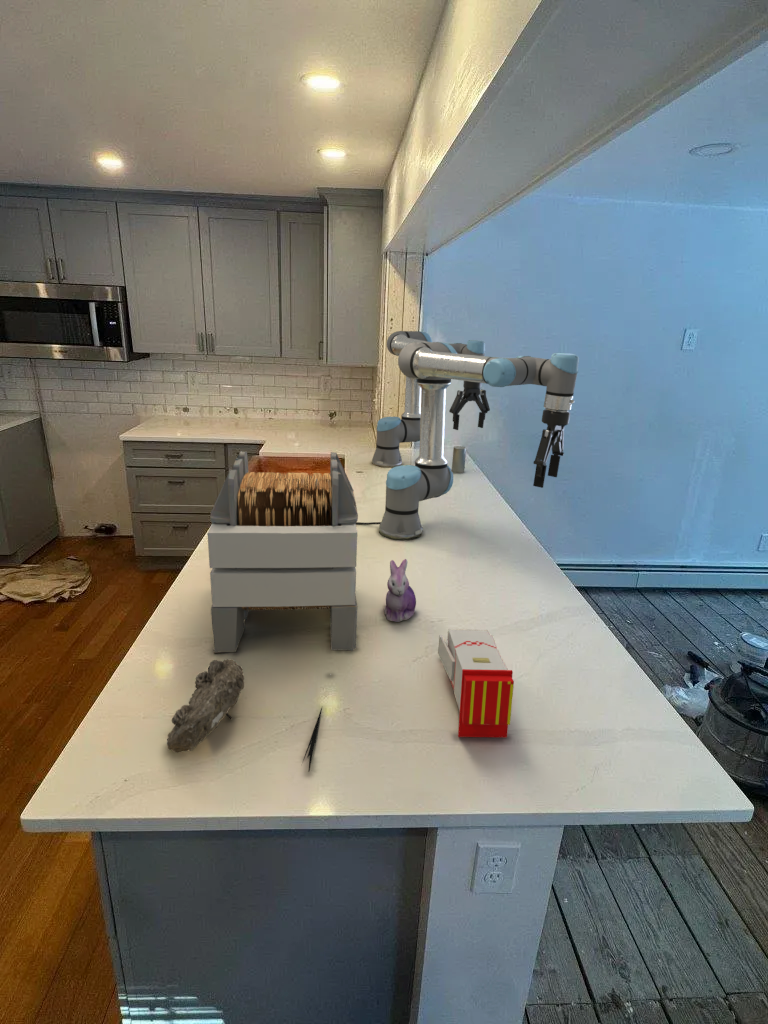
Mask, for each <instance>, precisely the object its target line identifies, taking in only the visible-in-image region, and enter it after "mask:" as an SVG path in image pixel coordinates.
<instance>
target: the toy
mask: <svg viewBox="0 0 768 1024" xmlns="http://www.w3.org/2000/svg"><path fill="white" fill-rule="evenodd" d="M446 640H447V643H446V641H445V639H444V636H443V635H442V634H439V637H438V646H437V656H438V657H439V659H440V661H441V663H442V666H443V668H444V670H445V672H446V674H447V677H448V679H449V681H450V684H451V687H452V690H453V693H454V697H455V701H456V705H457V708H458V711H459V714H458V715H459V716H458V730H457V731H458V732H457V737H458V738H508V731H509V726H510V725H511V717H512V707H513V697H514V696H513V695H514V684H515V680H514V679H513V673H514V671H513V670H512V669H508V667H507V665H506V662H505V661H504V659H503V658H502V655H501V653H500V651H499V649H498V647H497V643H496V639H495V637H494V635H493V634H491V632H490V631H489V629H467V628H466V629H465V628H463V629H461V628H460V629H459V628H448V630H447V639H446Z"/></svg>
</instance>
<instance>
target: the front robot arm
mask: <svg viewBox="0 0 768 1024" xmlns="http://www.w3.org/2000/svg"><path fill="white" fill-rule="evenodd" d="M450 344H451V343H447V342H441V341H432V342H421V343H420V342H415V343H411V344H408V345H407V346H405V347H404V348H403V349H402V350H401V352H400V354H399V356H397V357H398V358H397V365H398V368H399V370H400V372H401V373H402V374H403V375H404V376H405V377H406V376H407V377H409V378H413V379H417V384H418V385H419V386H420V387H421V417H420V441H419V456H418V457H417V458H416V459H415V460H414V465H413V464H405V465H403V464H402V465H400V466H396V467H391V468H390V469H389V470H388V472H387V474H386V479H385V504H384V505H385V507H384V508H385V509H384V513H383V515H382V519H381V521H379V522H378V521H377V522H376V521H374V522H373V521H371V522H362V521H361V522H359V521H357V522H356V525H359V526H360V525H365V526H370V525H372V526H373V525H378V533H379V534H380V535H381V536H382V537H385V538H387V539H389V540H395V541H410V540H415V539H418V538H420V537H421V536H422V535H423V525H422V524H421V518H420V515H419V507H420V506H419V505H420V502H422V501H426V500H431V499H434V498H435V499H436V498H440V497H442V496H444V495H446V494H448V493H449V492H450V490H451V489H452V487H453V485H454V472H452V467H451V466H449V465H448V460H447V459H446V457H445V455H444V453H445V433H446V432H445V431H446V430H445V428H446V408H447V407H446V404H447V388H448V387H449V386H450V385H451V384H452V380H457V381H463V382H464V381H470V382H478V383H482V384H486V385H489V386H490V387H492V388H504V387H511V386H523V385H524V386H525V385H535V386H542V387H546V389H545V396H544V402H543V408H544V409H543V410H542V415H541V422H542V423H543V424H545V425H547V427H546V429H545V428H544V429H542V431H541V432H542V433H541V438H540V441H539V445H538V448H537V451H536V455H535V458H534V460H533V465H536V466H535V471H534V478H533V484H532V486H533V487H537V488H541V489H543V488H544V485H545V480H546V478H545V477H546V472H547V466H548V472H547V476H548V477H553V478H557V477H558V474H559V473H558V472H559V467H560V463H561V462H560V461H561V457H564V456H565V452H564V451H565V450H564V447H565V446H564V445H565V427H566V426H568V425H569V423H570V419H571V412H570V411H571V410H572V405H573V404H574V403H575V399H574V393H575V387H576V382H577V377H578V373H579V364H580V358H579V356H578V355H577V354H574V353H566V352H554V353H552V354H551V357H550V358H542V357H535V356H531V355H518V356H516V357H500V356H499V357H497V356H487V355H484V356H477V355H466V354H457V352H456V351H455V349H454V348H453V347H452V346H451V345H450ZM551 453H552V454H551ZM549 457H550V459H549ZM548 459H549V464H548V465H547V462H548Z"/></svg>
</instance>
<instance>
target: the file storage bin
mask: <svg viewBox="0 0 768 1024" xmlns="http://www.w3.org/2000/svg"><path fill="white" fill-rule="evenodd" d="M329 465H330V466H329V467H330V469H329V470H330V472H324V473H321V472H313V474H309V473H308V472H286V473H285V472H284V473H283V472H274V471H273V472H269V471H266V472H264V471H263V472H260V471H259V472H258V471H257V472H255V471H249V459H248V451H242V450H240V451H239V453H238V455H237V457H236V458H235V460H234V463H233V465H232V467H231V468H230V469H229V471H228V473H227V475H226V477H225V480H224V482H223V484H222V487H221V489H220V491H219V493H218V496H217V498H216V500H215V502H214V504H213V507H212V508H211V511H210V514H209V519H210V523H211V525H210V527H209V529H208V531H207V532H206V534H207V548H208V562H209V563H208V565H209V569H211V570H210V573H209V575H210V576H209V577H210V590H211V591H210V592H211V593H210V594H211V606H210V617H211V633H212V637H213V638H212V639H213V649H212V652H213V653H214V654H215V653H216V654H220V653H236V652H237V649H238V647H239V645H240V642H241V639H242V637H243V635H244V632H245V625H246V624H245V621H247V619H248V615H249V611H268V610H270V611H273V610H274V611H275V610H277V611H278V610H279V611H280V610H284V611H286V610H290V611H291V610H294V611H295V610H325V609H326V610H329V619H330V621H329V622H330V623H329V625H330V626H329V627H330V628H329V629H330V650H331V651H351V652H353V651H354V650H355V649H357V638H358V635H357V631H358V602H357V601H358V600H357V593H356V590H357V589H356V588H357V569H356V568H357V555H358V553H357V551H358V529H357V524H356V522H358V519H359V513H358V507H357V502H356V497H355V493H354V488H353V486H352V484H351V481H350V479H349V478H348V475H347V473H346V471H345V469H344V466H343V464H342V461H341V460H340V458H339V456H338V453H337V452H333V451H330V463H329Z"/></svg>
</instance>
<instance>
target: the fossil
mask: <svg viewBox="0 0 768 1024" xmlns="http://www.w3.org/2000/svg"><path fill="white" fill-rule="evenodd" d="M243 670H244V669H243V667H242V665H240V664H237V662H236V661H235V660H234V659H232V658H231V659H227V658H226V659H224V660H223V661H222V660H217V659H212V660H211V661H210V663H209V665H208V666H207V671H201V672H199V673H198V674H197V675H196V676H195V680H194V684H195V685H194V687H195V689H194V690H193V693H192V694H191V697H190V698H189V700H188V704H184V705H182V706H181V707H180V709H177V710H176V711H175V713H174V715H173V716H172V718H171V723H172V724H173V727H172V730H171V731H170V732H168V734H167V738H166V741H167V742H166V745H167V749H168V750H169V751H173V752H174V753H176V754H178V753H182V752H188V751H189V752H192V751H193V750H195V748H196V747H197V746H199V744H200V743H201V742H203V741H204V740H205V739H206V738H207V737H208V736H209V735H210V734H211V733H212V732H214V730H215V729H217V727H218V726H219V724H220V722H221V721H222V720H223V719H224V718H225V716H226V717H227V719H229V720H233V717H232V715H230V714H229V710H230V709H231V708H234V706H235V704H236V703H237V702H238V699H239V697H240V695H241V693H242V691H243V690H245V689H244V688H245V675H244V671H243Z"/></svg>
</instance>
